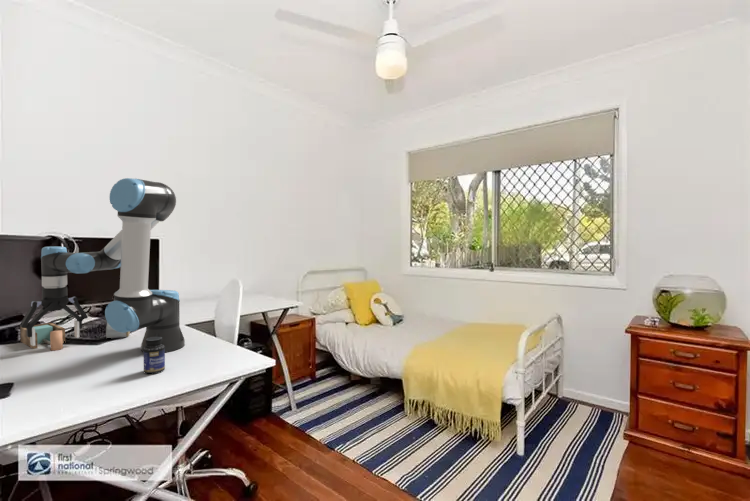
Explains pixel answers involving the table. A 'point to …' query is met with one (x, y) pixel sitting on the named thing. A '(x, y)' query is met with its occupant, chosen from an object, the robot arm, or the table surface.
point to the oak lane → (27, 339)
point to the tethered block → (49, 337)
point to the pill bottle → (154, 355)
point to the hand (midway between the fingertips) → (55, 341)
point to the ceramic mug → (115, 333)
